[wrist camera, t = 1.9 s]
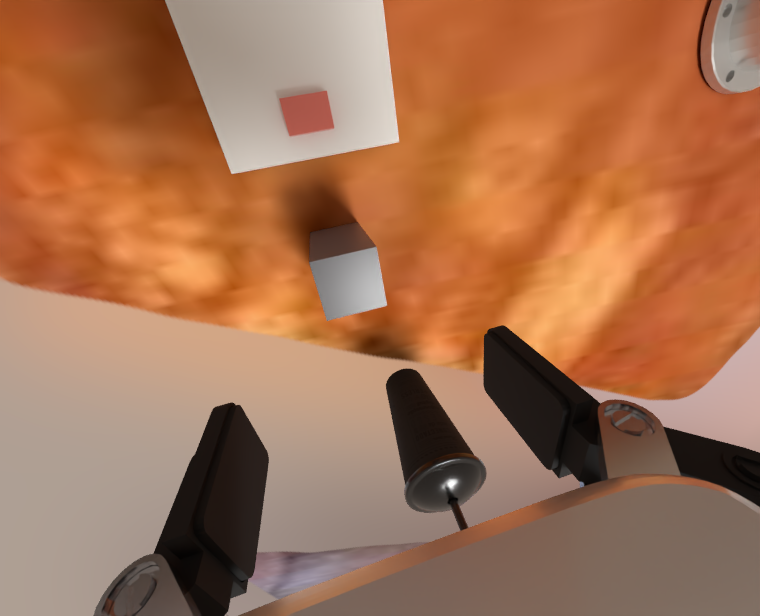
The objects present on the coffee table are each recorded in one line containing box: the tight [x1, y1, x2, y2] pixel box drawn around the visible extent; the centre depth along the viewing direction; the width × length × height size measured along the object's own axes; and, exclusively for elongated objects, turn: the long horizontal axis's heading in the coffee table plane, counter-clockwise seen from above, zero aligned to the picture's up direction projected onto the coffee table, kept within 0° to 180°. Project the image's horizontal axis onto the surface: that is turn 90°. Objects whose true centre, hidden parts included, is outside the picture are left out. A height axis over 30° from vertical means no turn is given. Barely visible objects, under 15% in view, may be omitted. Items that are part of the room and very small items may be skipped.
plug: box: [309, 222, 387, 321], centre depth 23 cm, size 4×4×9 cm
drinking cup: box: [386, 369, 486, 531], centre depth 28 cm, size 8×8×20 cm
